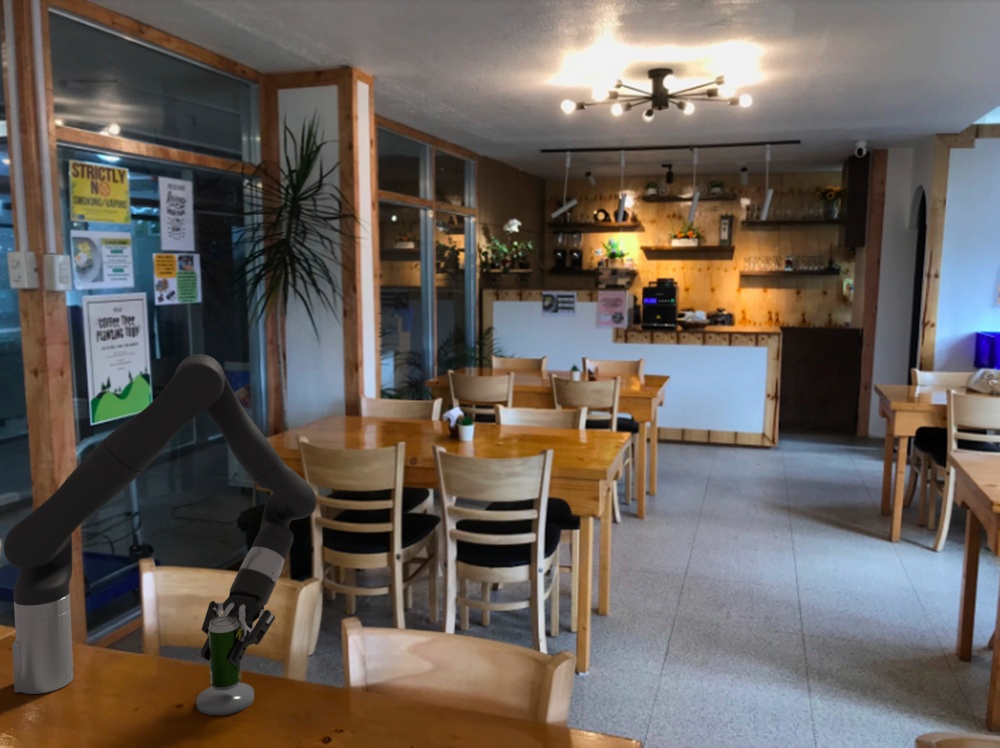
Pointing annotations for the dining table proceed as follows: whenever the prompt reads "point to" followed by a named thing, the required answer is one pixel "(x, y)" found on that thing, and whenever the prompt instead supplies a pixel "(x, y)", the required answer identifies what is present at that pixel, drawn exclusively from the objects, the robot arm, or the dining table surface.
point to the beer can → (223, 653)
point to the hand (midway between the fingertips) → (218, 661)
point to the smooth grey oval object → (225, 700)
